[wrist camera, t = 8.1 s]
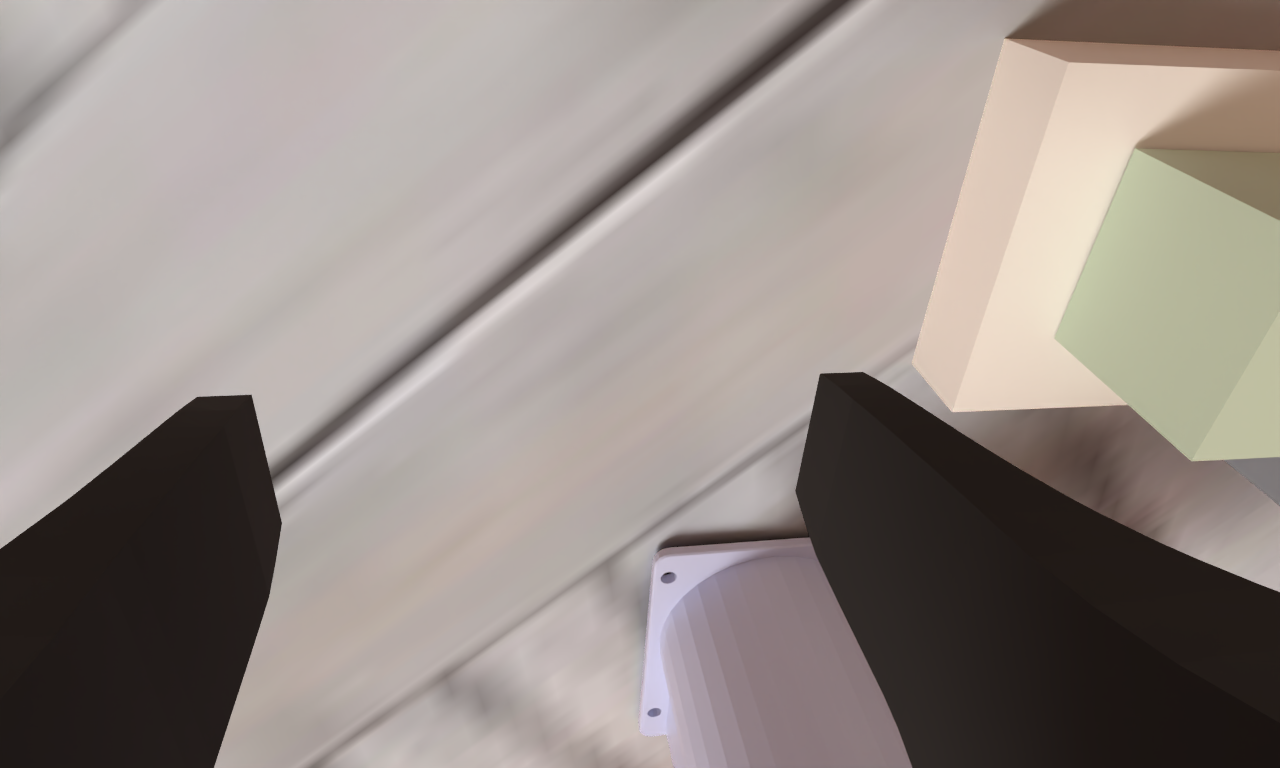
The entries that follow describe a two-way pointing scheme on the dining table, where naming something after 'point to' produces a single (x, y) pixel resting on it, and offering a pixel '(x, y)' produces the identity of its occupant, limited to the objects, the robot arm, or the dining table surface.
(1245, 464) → the grey block
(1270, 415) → the sage block
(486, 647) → the dining table surface
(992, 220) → the base block
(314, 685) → the dining table surface
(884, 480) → the robot arm
